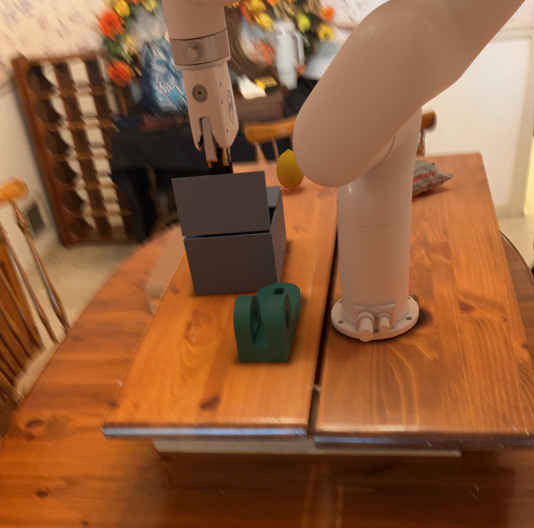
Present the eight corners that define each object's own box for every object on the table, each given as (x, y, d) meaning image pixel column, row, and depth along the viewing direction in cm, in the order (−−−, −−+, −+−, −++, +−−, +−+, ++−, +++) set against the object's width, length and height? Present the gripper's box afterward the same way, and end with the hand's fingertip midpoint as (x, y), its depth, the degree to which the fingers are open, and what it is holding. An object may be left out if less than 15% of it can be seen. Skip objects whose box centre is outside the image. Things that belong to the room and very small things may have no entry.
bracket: (286, 361, 88) (280, 311, 83) (239, 361, 90) (230, 311, 84) (304, 294, 101) (299, 247, 95) (262, 295, 102) (255, 248, 97)
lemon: (292, 183, 134) (288, 142, 128) (311, 188, 131) (308, 147, 125) (273, 193, 132) (268, 151, 126) (291, 198, 128) (287, 156, 123)
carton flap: (270, 229, 96) (270, 229, 96) (182, 235, 98) (182, 236, 98) (264, 170, 91) (264, 170, 91) (171, 178, 93) (171, 179, 93)
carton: (278, 290, 103) (271, 229, 96) (195, 295, 105) (182, 235, 98) (287, 242, 115) (281, 185, 108) (212, 248, 117) (201, 192, 110)
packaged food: (452, 189, 122) (453, 162, 119) (401, 208, 119) (401, 181, 115) (422, 178, 128) (423, 152, 124) (373, 196, 125) (373, 169, 121)
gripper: (219, 60, 77) (242, 211, 90) (237, 33, 88) (255, 171, 101) (159, 67, 79) (191, 215, 91) (184, 40, 89) (209, 176, 102)
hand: (225, 192), depth 96 cm, fingers closed
